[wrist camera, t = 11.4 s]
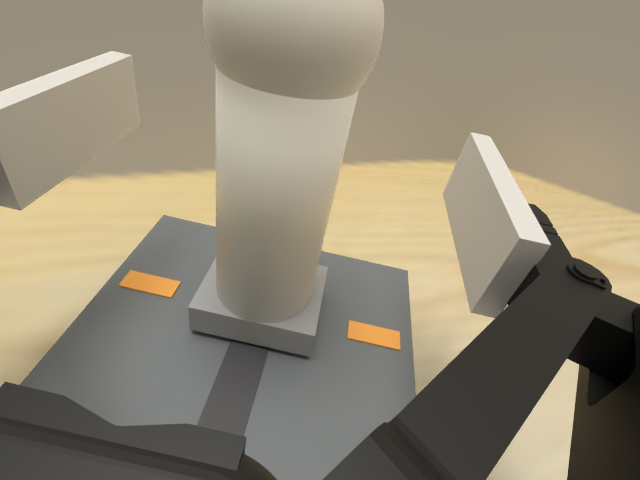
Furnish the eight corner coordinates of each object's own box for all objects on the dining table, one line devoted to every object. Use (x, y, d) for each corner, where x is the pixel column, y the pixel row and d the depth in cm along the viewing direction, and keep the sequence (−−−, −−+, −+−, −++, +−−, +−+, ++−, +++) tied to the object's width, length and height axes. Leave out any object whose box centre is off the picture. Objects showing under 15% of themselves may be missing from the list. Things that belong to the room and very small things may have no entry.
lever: (186, 335, 15) (147, -131, 6) (225, 260, 19) (232, -102, 10) (308, 363, 15) (426, -68, 6) (323, 283, 18) (412, -61, 10)
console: (-316, 925, 7) (-518, 1013, 5) (167, 254, 23) (163, 213, 21) (402, 1094, 7) (473, 1245, 5) (391, 305, 23) (408, 269, 21)
